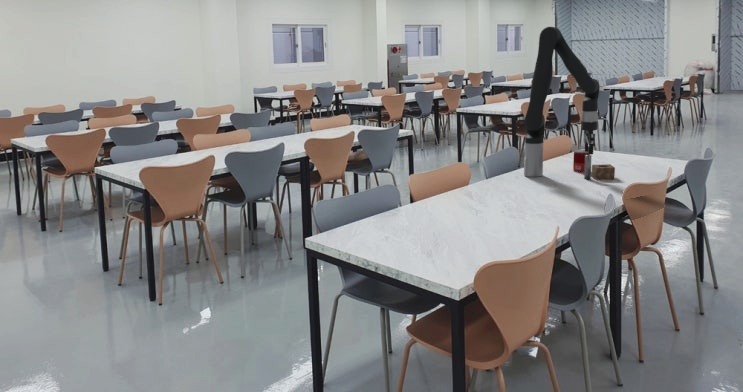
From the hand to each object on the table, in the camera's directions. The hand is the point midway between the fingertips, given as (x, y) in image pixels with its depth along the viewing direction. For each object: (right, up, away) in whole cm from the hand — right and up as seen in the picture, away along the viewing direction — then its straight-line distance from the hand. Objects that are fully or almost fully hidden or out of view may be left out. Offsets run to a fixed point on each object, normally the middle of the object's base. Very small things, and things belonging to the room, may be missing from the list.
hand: (588, 152), depth 321 cm
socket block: (+9, -12, +4) cm, 16 cm away
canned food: (+4, -8, +23) cm, 25 cm away
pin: (0, -13, +3) cm, 13 cm away
